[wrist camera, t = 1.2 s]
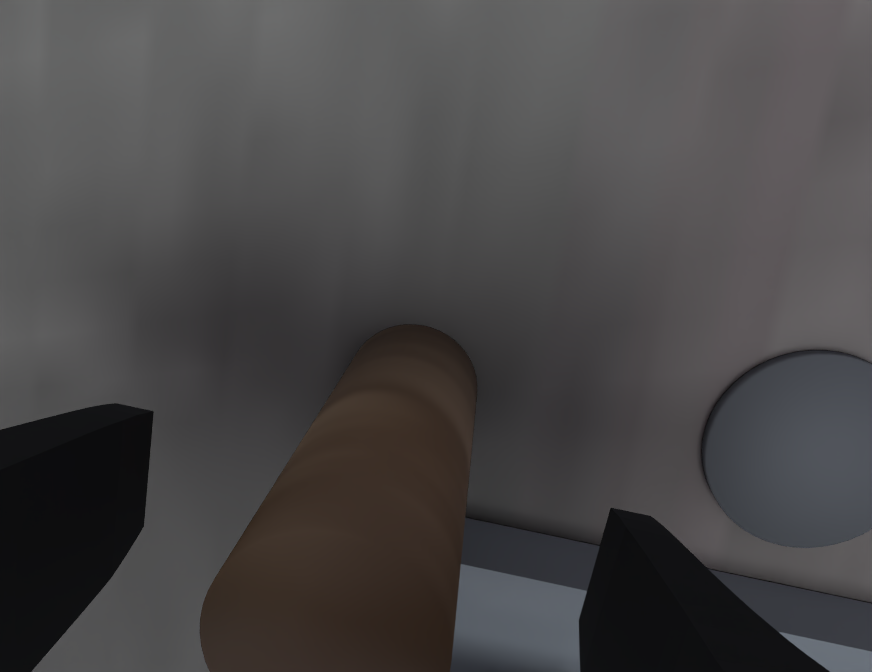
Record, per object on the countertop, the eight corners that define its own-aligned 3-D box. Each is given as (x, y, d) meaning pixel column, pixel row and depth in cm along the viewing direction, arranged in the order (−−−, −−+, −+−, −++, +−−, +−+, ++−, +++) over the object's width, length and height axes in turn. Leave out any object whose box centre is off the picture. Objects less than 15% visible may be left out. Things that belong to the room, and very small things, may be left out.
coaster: (677, 516, 18) (681, 524, 17) (735, 330, 17) (741, 336, 16) (873, 556, 18) (881, 566, 17) (946, 373, 16) (957, 379, 16)
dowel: (339, 432, 18) (188, 719, 9) (358, 312, 17) (212, 506, 9) (463, 458, 18) (426, 772, 9) (489, 339, 17) (475, 561, 8)
